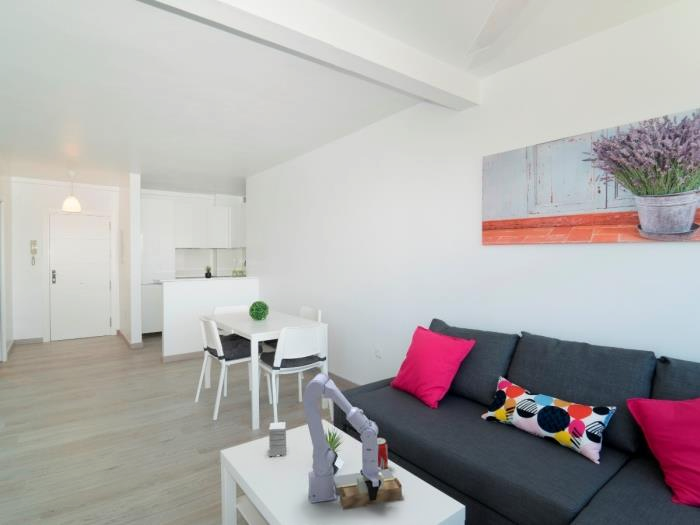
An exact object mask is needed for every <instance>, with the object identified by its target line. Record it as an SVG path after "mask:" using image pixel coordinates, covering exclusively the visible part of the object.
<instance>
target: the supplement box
mask: <svg viewBox="0 0 700 525" xmlns="http://www.w3.org/2000/svg"><path fill="white" fill-rule="evenodd" d="M268 433H269V434H268V435H269V436H268V441H269V442H268V444H269V446H268V447H269V448H268V449H269V457H270V456H277V455H286V456H287V423H286V421H281V422H280V421H279V422H271V423H269V428H268Z"/></svg>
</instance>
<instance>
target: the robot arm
mask: <svg viewBox="0 0 700 525" xmlns="http://www.w3.org/2000/svg"><path fill="white" fill-rule="evenodd" d="M304 389H305V390H304V392H303V395H302V396H303V397H302V399H301V401H302V406H303V411H304V414H305V415H304V416H305V419H306V424H307V427H308V431H309V434H310V440H311V444H312V447H313V448H312V449H313V450H312V461H313V462H312V465H311V466H312V471H309V472H308V491H307V492H308V495H309V500H310V503H311V504H314V503H321V502H325V501H327V502H328V501H333V500H337V494H336V490H335V487H334V475H335V474H334V473H335V471H334V465H333V463H334V461H335V457H336V456H335V455H336V454H335V452H334V450H333V449H332V447H331V444H330V443H329V442H328V441H327V438H326V433H325V430H324V425H323V422H322V417H321V413H320V409H319V405H318V400H319V398H320V397H321V396H322V397H321V398H322V399H330V400H332V401H333V402H334V403H335V404H336V405H337V407H339V408H340V409H341V410H342V411H343V412H344V413H345V414H346V418H345V419H346V420H347V421H348V422H349V424H350V425H351V426H352V427H353V428H354V429H355V430H356V431H357V432H358V434H360V436H359V437H360V440H361V443H362V444H361V458H362V460H361V461H362V462H361V463H362V465H361V466H362V467H361V468H362V469H360V471H359V473H361V474H362V476H363V475H365V476H366V477H367V478H368V479H370V480H367V481H365V483H366V485H367V488H368V493H369V498H370V501H374V500H376V497H377V493H378V489H379V487H380V485H381V481H380V480H378V474H379V472H381V468H380V467H378V445H377V438H378V434H379V427H378V425H377V423H376V421H372V420H371V419H368V417H367V416H366V415H365V413H364V410H363V409H362V408H361V409H360V407H359V408H358V407H357V406H353V405H352V404H351V403H350V402H349V401H348V399H347V398H346V397H345V395H344V394H343V393H342V391H340V389H339V388H338V387H337V386H336V384H335V382H334V380H333V379H331V378H330V377H329V376H328V374H326V373H323V372H319V373H318V374H316V375H315V377H313V379H311V380H310V381H309V382H308V383H307V385H306V386H305V388H304Z"/></svg>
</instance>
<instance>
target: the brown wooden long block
mask: <svg viewBox="0 0 700 525" xmlns="http://www.w3.org/2000/svg"><path fill="white" fill-rule="evenodd" d="M402 488H403V486H402V484H401V482H400V480H399V479H398V478H397V477H394V480H393V481H387V482H384V489H381V490H378V493H377V497H376V500H374V501H370V498H369V493H368V492H367V493H362V494H360V492H359V490H358V488H357V486H356V487H349V488H343V487H340V494H339V502H340V504H341V507H342V509H343V510H347V509H352V508H357V507H363V506H369V505H375V504H380V503H386V502H391V501H397V500H402V499H403V495H402V494H403V491H402V490H403V489H402Z"/></svg>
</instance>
